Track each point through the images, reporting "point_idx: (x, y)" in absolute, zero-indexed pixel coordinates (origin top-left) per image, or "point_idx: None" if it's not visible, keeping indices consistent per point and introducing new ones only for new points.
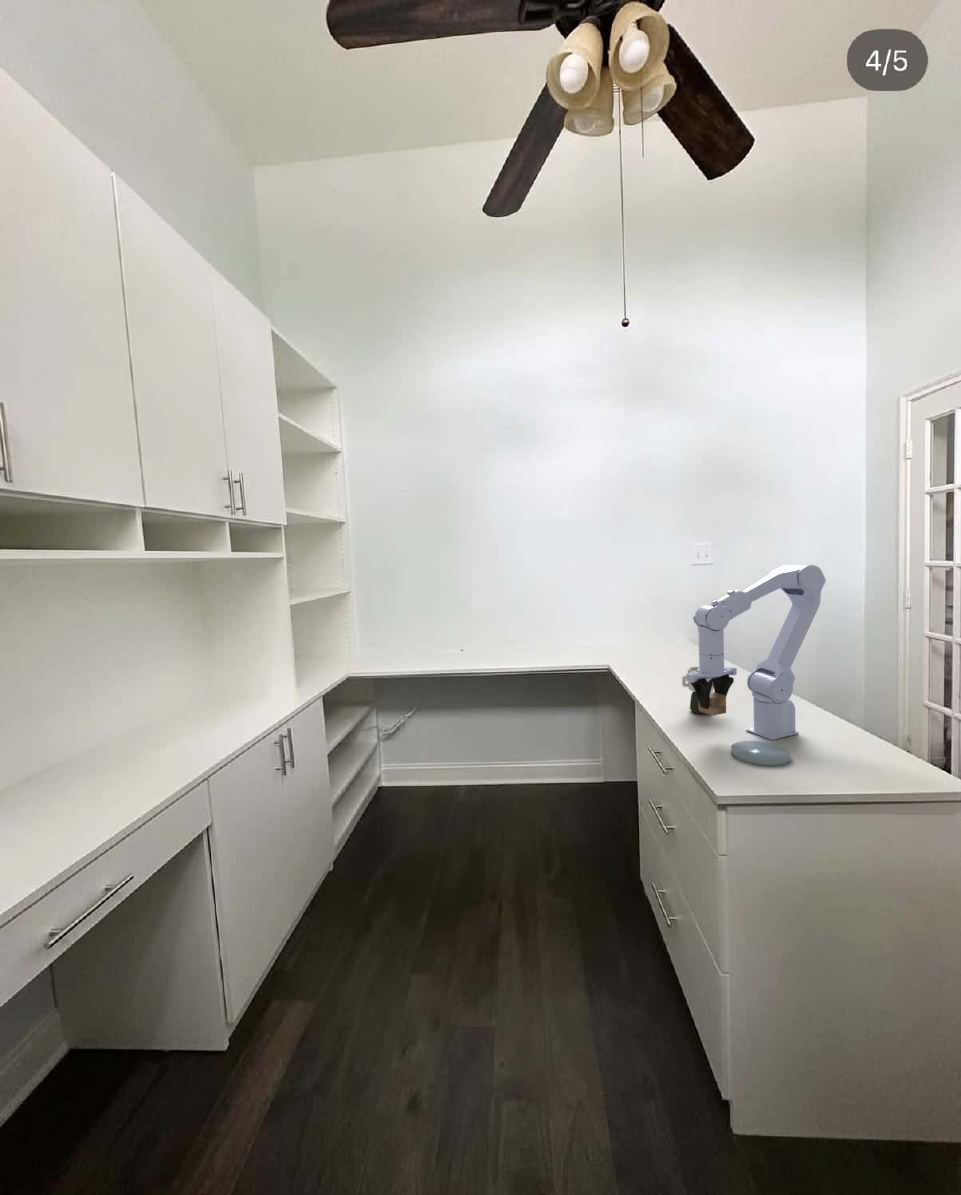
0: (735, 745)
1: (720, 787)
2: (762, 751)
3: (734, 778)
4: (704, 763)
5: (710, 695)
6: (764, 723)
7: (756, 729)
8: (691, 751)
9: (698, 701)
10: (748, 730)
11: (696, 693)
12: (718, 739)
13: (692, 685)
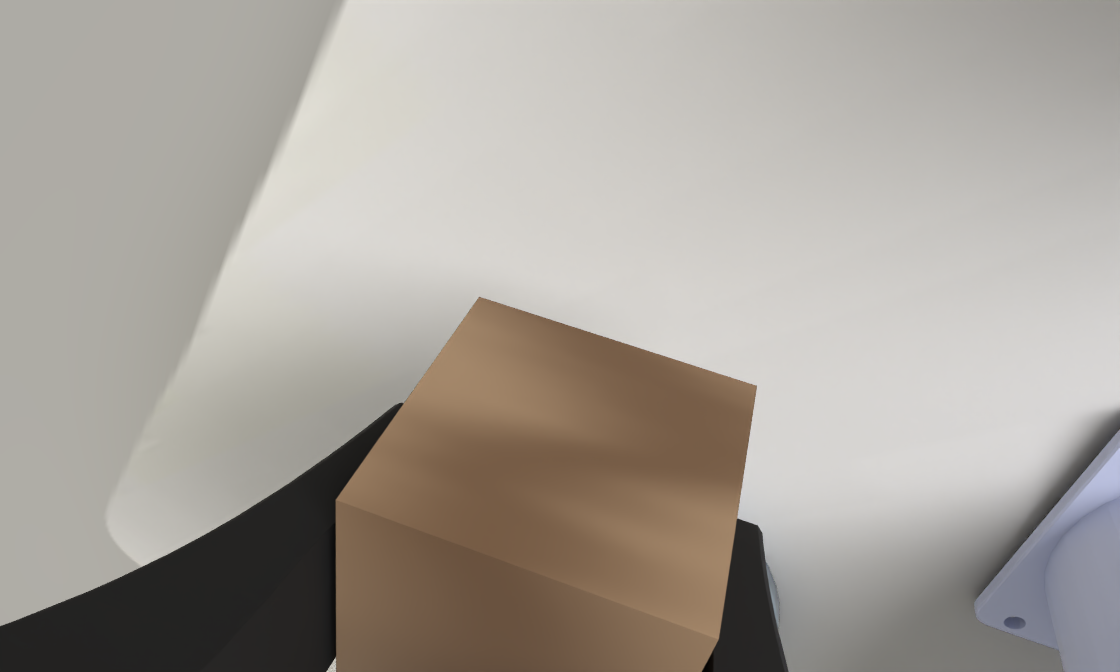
0: None
1: (117, 527)
2: None
3: None
4: (218, 397)
5: (427, 665)
6: (1071, 669)
7: (1097, 533)
8: (274, 257)
9: (412, 392)
10: (1114, 444)
11: (212, 534)
12: (679, 298)
13: (3, 634)
